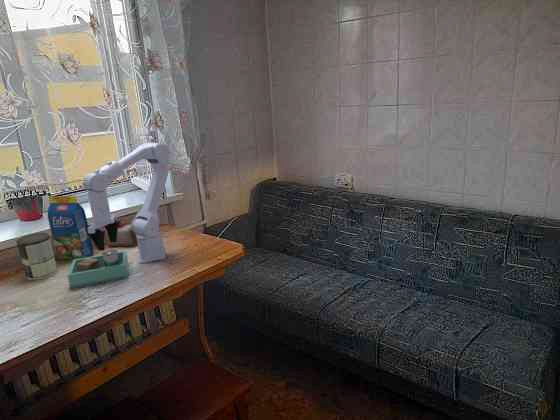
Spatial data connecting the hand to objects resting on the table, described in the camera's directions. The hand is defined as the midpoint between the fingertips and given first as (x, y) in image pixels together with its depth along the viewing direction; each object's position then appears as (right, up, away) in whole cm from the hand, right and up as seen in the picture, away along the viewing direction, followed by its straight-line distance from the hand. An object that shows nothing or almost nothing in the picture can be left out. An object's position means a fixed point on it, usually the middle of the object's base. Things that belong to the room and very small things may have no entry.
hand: (107, 245), depth 145 cm
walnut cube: (-6, -10, +1) cm, 12 cm away
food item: (-6, -2, +31) cm, 32 cm away
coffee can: (-27, -11, +7) cm, 30 cm away
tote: (-3, -10, +2) cm, 11 cm away
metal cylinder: (+1, -9, +3) cm, 9 cm away
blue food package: (-21, -6, +21) cm, 30 cm away
